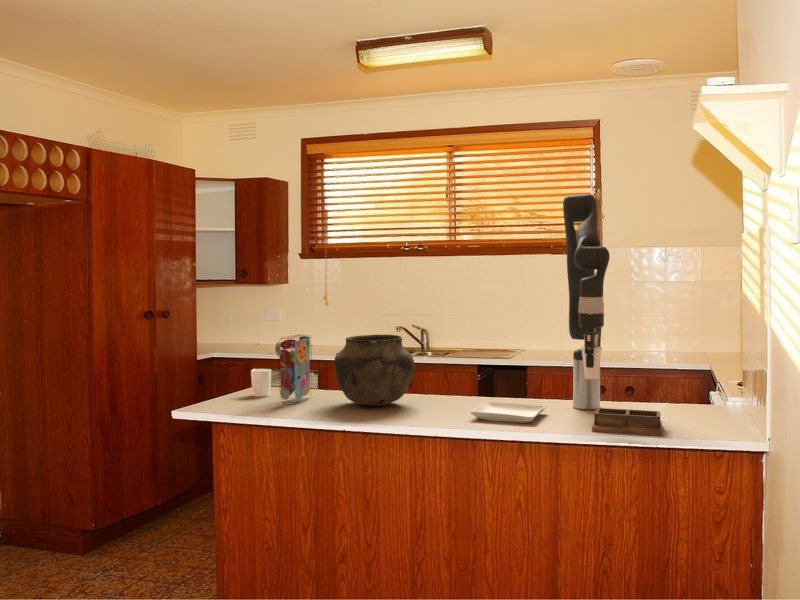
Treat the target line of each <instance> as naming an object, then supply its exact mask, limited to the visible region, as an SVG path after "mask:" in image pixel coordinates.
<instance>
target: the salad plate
mask: <svg viewBox="0 0 800 600" xmlns="http://www.w3.org/2000/svg"><path fill="white" fill-rule="evenodd" d="M546 408H547V406H546V405H537V404H526V403H513V402H501V401H500V402H499V401H498V402H497V401H486V402H484V403H481V404H480V405H478V406H476V407H475V408H473V409H471V410H470V411H469V412H470V414H471V415H473V417H475V418H478V419H481V420H484V421H493V422H504V423H506V422H507V423H516V424H524V423H525V424H527V423H531V422H532V421H534V419H535V418H536V417H537V416H538V415H540V414H541V413H543V412H544V411H545V409H546Z"/></svg>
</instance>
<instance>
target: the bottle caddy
mask: <svg viewBox="0 0 800 600" xmlns="http://www.w3.org/2000/svg"><path fill="white" fill-rule="evenodd" d="M593 416H594V421H593V423H592V425H591V432H596V433H609V434H610V433H612V434H626V435H627V434H628V435H641V436H643V435H644V436H655V437H656V436H659V437H662V436H663V422H662V420H661V411H659V410H645V409H643V410H642V409H624V408H622V409H621V408H606V407H600V408H597V409H595V411H594V414H593Z"/></svg>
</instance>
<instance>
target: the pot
mask: <svg viewBox="0 0 800 600" xmlns="http://www.w3.org/2000/svg"><path fill="white" fill-rule="evenodd" d="M333 361H334V362H333V363H334V364H333V367H334V374H335V378H336V380H337V384H338V386H339V388H340V389H341V391H342V392H343V394H344V396H345V398H346V399H347V400H349V401H351V402H353V403H355V404H358V405H362V406H368V407H379V406H380V407H381V406H385V405H389V404H392V403H394V402H397V401H398V400H399V399H401V398H402V397H404V395H405V394H406V393H407V390H408V389H409V386H410V384H412V383H411V382H412V380H413V376H414V373H415V360H414V358H413V355H412V354H411V353H410V352H409V351H408V350H406V348H405V347H404V346H403V337H402V336H401V335H395V334H366V335H365V334H364V335H362V334H361V335H353V336H349V337H345V345H344V347H343V348H342V349H341V350H340V351H338V352H337V354H336V355H335V356H334V360H333Z"/></svg>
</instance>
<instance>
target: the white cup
mask: <svg viewBox="0 0 800 600" xmlns="http://www.w3.org/2000/svg"><path fill="white" fill-rule="evenodd" d="M250 377H251V389H252V396H253V397H259V398H263V397H270V396H271V388H272V387H271V385H272V369H270V368H254V369H251V370H250Z"/></svg>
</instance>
